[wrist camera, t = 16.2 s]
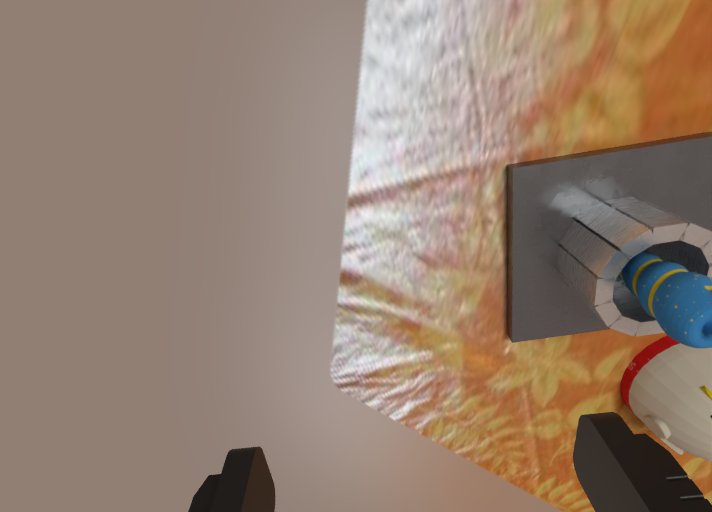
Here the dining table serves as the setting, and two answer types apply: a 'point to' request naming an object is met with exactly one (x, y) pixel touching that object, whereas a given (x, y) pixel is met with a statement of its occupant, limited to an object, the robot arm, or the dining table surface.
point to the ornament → (672, 298)
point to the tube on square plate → (602, 232)
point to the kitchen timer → (673, 394)
